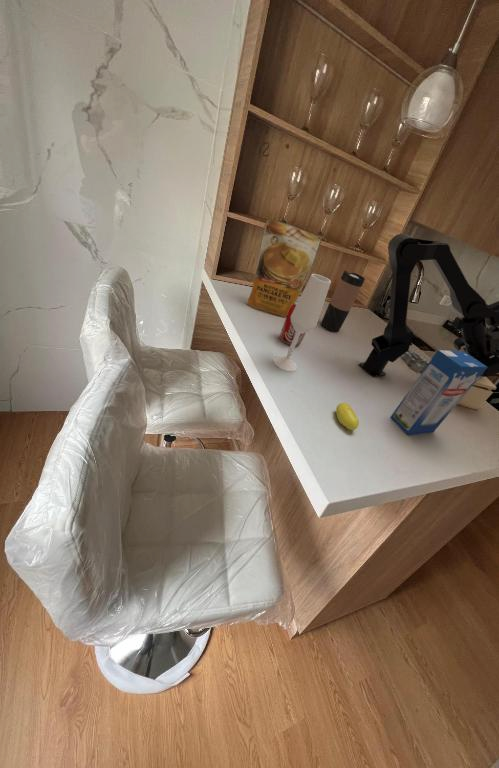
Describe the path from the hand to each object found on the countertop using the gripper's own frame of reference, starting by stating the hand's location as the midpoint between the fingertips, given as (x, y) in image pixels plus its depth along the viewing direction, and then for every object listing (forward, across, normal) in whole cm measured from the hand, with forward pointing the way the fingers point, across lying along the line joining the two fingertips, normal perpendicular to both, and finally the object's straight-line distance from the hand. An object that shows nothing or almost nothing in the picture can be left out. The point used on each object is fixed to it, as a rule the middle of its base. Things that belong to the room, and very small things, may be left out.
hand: (483, 375), depth 100 cm
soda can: (-36, +3, +48) cm, 60 cm away
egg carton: (-2, +14, +15) cm, 21 cm away
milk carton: (-14, -24, +26) cm, 38 cm away
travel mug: (-24, +25, +36) cm, 50 cm away
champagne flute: (-37, -12, +49) cm, 63 cm away
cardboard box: (+3, 0, +9) cm, 10 cm away
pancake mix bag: (-41, +24, +53) cm, 71 cm away
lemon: (-28, -30, +40) cm, 57 cm away
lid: (-2, 0, +4) cm, 4 cm away
